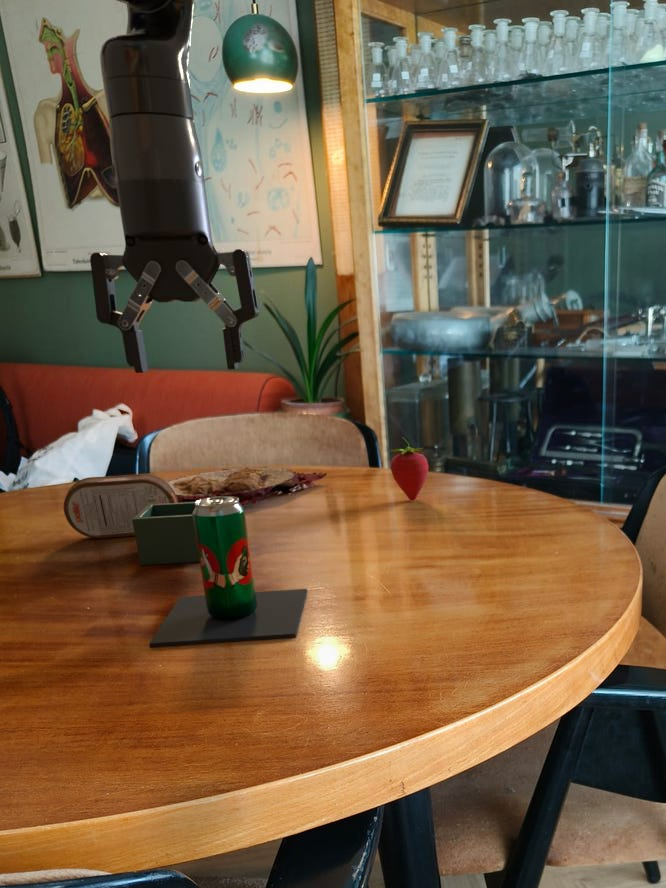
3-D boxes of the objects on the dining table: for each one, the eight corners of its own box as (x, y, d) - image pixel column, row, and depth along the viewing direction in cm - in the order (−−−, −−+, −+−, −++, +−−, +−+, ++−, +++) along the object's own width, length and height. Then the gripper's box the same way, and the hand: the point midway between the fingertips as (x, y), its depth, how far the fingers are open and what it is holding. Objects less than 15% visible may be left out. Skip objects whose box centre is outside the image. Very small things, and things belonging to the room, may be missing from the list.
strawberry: (396, 507, 136) (391, 442, 132) (390, 497, 143) (385, 434, 139) (434, 504, 137) (430, 439, 134) (426, 494, 144) (422, 432, 140)
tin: (182, 528, 129) (173, 470, 125) (180, 533, 126) (170, 474, 123) (73, 537, 126) (60, 478, 123) (68, 543, 123) (55, 483, 120)
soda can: (259, 603, 95) (244, 493, 90) (256, 619, 90) (240, 504, 86) (211, 607, 94) (193, 496, 90) (205, 624, 90) (187, 508, 85)
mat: (149, 647, 85) (148, 643, 85) (180, 600, 98) (179, 596, 98) (295, 637, 86) (295, 633, 86) (307, 591, 99) (307, 588, 99)
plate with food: (329, 484, 155) (327, 464, 154) (230, 513, 134) (227, 491, 133) (225, 477, 166) (223, 459, 164) (117, 504, 144) (114, 483, 143)
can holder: (140, 565, 111) (131, 519, 109) (155, 547, 119) (148, 504, 117) (206, 561, 112) (199, 515, 110) (217, 544, 120) (211, 500, 117)
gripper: (248, 182, 82) (268, 365, 88) (90, 185, 81) (121, 369, 87) (235, 173, 75) (258, 371, 81) (62, 175, 74) (98, 377, 80)
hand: (187, 370), depth 84 cm, fingers open, 8 cm apart
